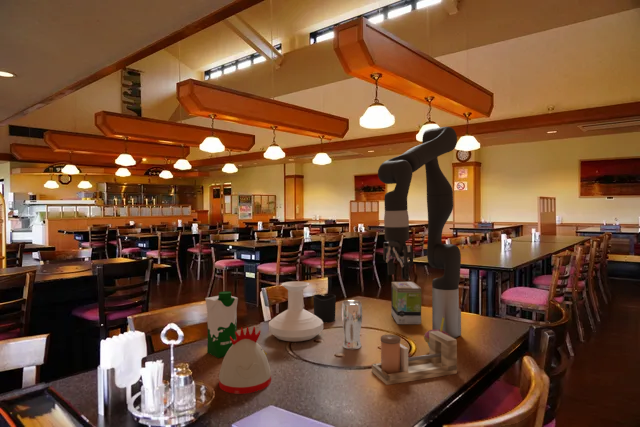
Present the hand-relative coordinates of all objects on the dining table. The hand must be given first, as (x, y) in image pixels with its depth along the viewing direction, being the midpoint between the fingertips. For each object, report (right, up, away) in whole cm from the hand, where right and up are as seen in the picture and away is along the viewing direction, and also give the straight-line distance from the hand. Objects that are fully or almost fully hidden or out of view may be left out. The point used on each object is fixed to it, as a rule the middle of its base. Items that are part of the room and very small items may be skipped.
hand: (397, 276), depth 127 cm
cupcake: (+14, -25, +4) cm, 29 cm away
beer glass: (-14, -25, +10) cm, 30 cm away
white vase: (-33, -25, +21) cm, 47 cm away
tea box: (+11, -25, +43) cm, 50 cm away
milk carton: (-56, -26, +5) cm, 62 cm away
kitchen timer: (-45, -26, -17) cm, 54 cm away
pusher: (+7, -24, -11) cm, 27 cm away
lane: (+2, -25, -12) cm, 28 cm away
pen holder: (-22, -25, +43) cm, 54 cm away
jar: (-5, -24, -15) cm, 29 cm away
